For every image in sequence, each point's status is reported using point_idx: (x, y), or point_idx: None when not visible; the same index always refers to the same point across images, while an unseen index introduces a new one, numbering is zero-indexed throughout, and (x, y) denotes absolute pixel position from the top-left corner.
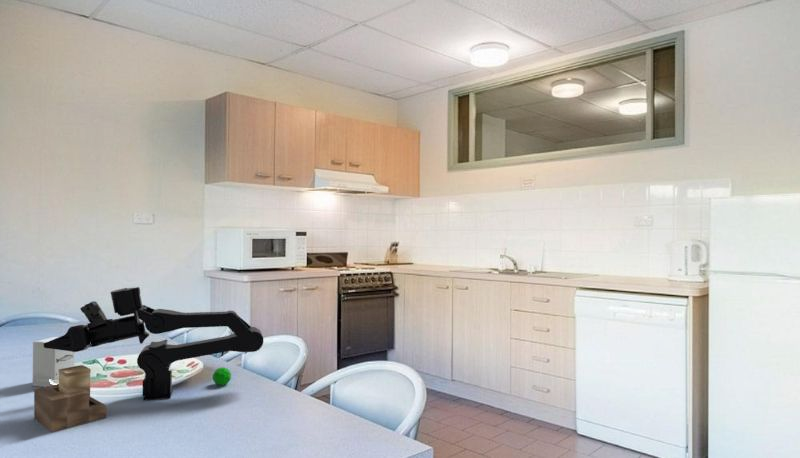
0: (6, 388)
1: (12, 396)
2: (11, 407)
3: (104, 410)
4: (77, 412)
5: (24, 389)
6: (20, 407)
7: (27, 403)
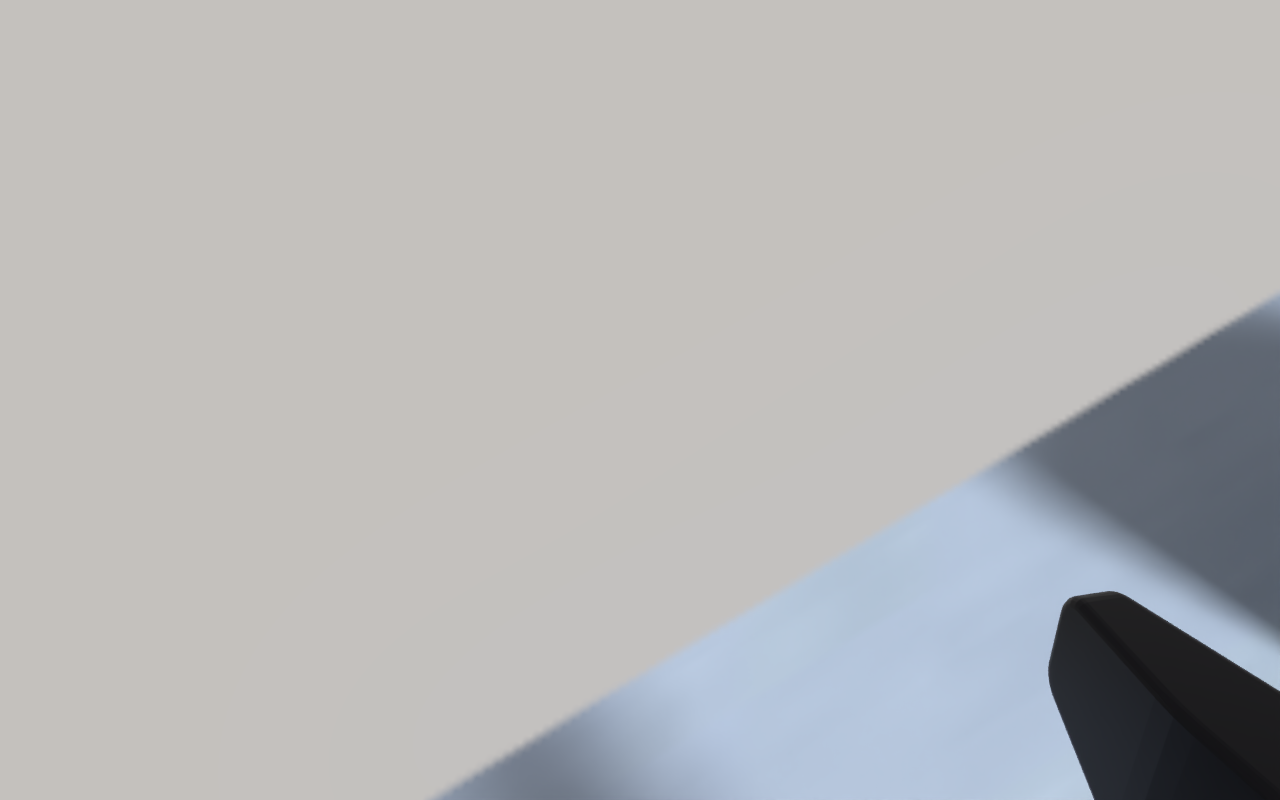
0: (1241, 316)
1: (1023, 498)
2: (686, 691)
3: None
4: None
5: (1264, 467)
6: (680, 782)
7: (812, 776)
